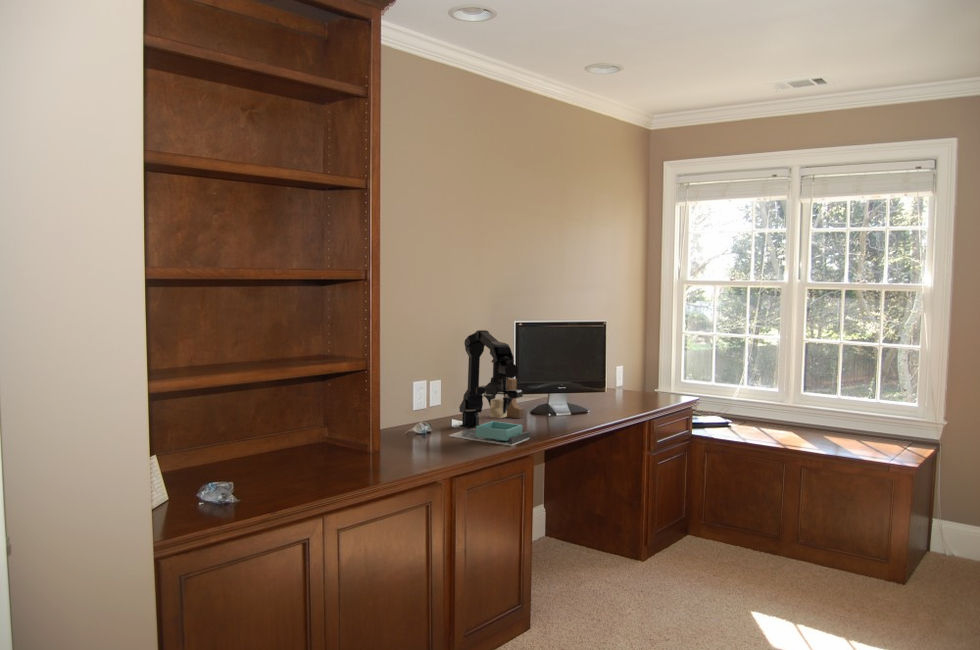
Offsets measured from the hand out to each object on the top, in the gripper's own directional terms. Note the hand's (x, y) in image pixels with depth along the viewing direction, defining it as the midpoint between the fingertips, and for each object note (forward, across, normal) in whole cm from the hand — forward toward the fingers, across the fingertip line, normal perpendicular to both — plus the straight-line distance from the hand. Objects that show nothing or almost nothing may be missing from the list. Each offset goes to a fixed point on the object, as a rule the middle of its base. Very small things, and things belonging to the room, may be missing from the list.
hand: (498, 412), depth 309 cm
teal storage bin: (+11, +1, 0) cm, 11 cm away
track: (+11, -4, 0) cm, 11 cm away
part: (+2, 0, 0) cm, 2 cm away
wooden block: (+11, -17, +48) cm, 52 cm away
